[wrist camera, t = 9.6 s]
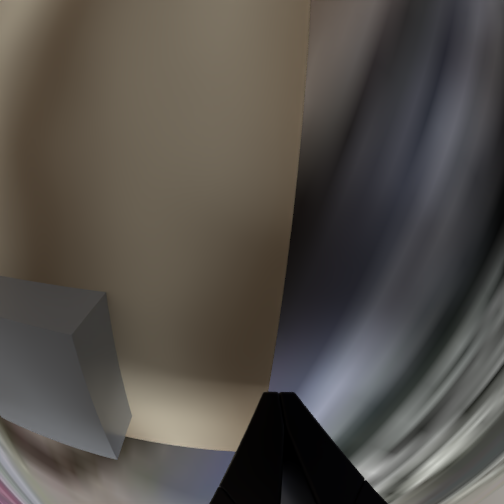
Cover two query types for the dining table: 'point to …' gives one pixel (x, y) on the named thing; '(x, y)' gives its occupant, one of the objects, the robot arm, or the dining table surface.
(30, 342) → the slate tile
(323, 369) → the dining table surface
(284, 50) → the birch board
